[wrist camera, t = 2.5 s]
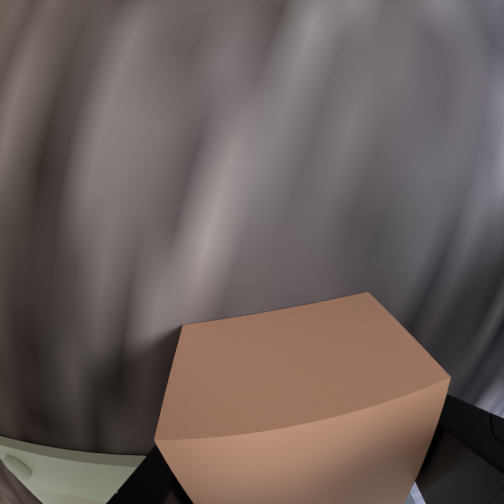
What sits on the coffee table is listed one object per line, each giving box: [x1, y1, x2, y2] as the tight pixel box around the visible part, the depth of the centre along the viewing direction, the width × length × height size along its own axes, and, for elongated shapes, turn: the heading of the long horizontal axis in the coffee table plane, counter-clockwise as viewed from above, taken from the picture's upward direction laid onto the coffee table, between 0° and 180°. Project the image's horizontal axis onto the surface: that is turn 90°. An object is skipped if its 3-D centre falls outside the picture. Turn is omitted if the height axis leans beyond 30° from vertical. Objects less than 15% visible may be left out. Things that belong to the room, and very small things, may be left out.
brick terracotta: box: [154, 292, 451, 504], centre depth 7 cm, size 5×5×4 cm
